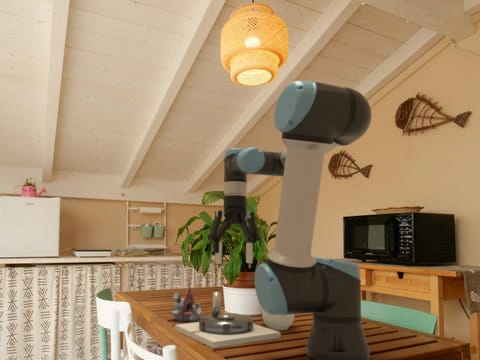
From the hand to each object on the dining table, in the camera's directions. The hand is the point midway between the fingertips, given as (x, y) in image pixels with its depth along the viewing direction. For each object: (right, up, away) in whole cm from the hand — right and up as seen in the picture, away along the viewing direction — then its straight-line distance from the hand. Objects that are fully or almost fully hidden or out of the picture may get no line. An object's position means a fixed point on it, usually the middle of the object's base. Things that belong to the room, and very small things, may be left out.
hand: (234, 263), depth 133 cm
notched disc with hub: (-2, -17, -11) cm, 20 cm away
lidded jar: (+14, -20, -3) cm, 25 cm away
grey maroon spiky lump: (-17, -21, +9) cm, 28 cm away
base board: (-2, -19, -11) cm, 22 cm away
